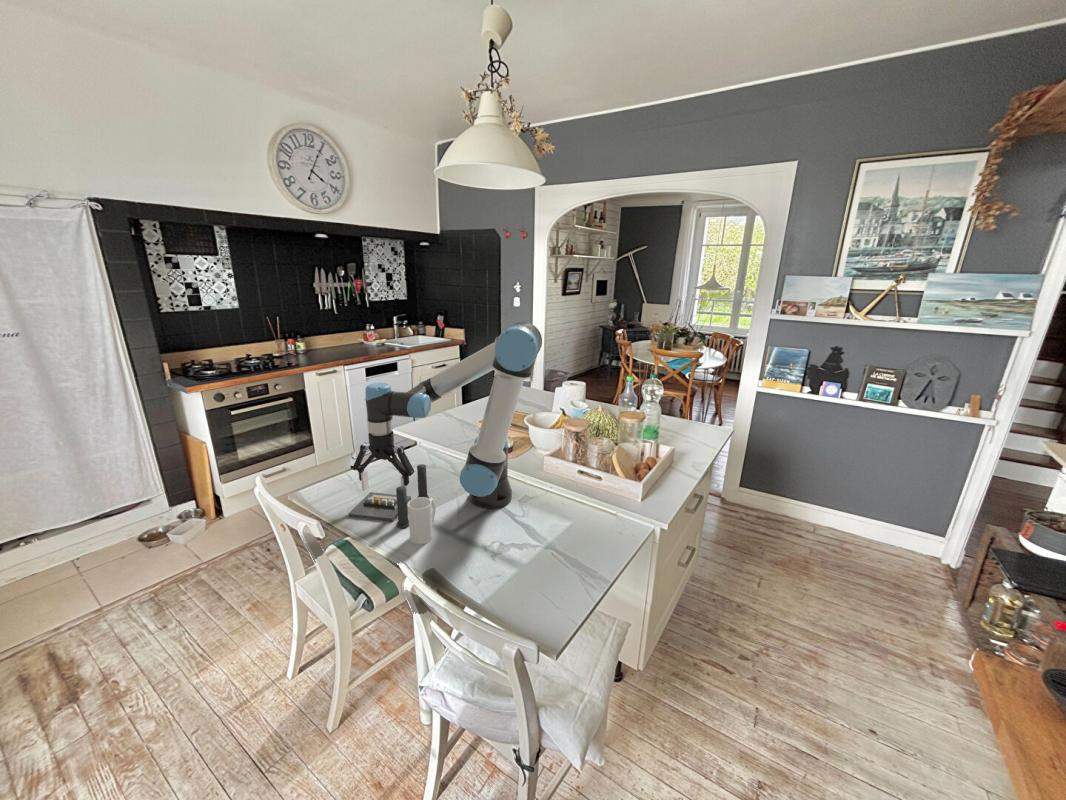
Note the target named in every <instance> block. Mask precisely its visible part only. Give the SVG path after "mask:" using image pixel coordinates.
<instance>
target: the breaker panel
mask: <svg viewBox="0 0 1066 800" xmlns="http://www.w3.org/2000/svg"><path fill="white" fill-rule="evenodd" d="M410 500H412V496H410V495H409V496H408V495H407V505H408V502H409V501H410ZM348 517H350V518H356V519H366V520H374V521H382V522H383V521H384V522H392V523H393V522H395V519H397V518H398V510H397V495H396V494H392V493H390V494H389V493H381V492H373V491H371V492H369V493H368V494H367V495H366V496H365V497H364V498H362V500H360V502H358V504H357V505H356V506H354V508H352V510H350V512H348Z"/></svg>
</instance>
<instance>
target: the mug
mask: <svg viewBox="0 0 1066 800" xmlns="http://www.w3.org/2000/svg"><path fill="white" fill-rule="evenodd" d="M407 508H408V520H409V527H408V528H409V538H410V542H411V543H413V544H414V545H424V544H427V543H428V542H430V541H431V540H432V537H433V526H432V525H433V524H434V522H435V517H436V512H437V511H436V509H437V508H436V503H435V501H434V498H432V497H431V498H429V499H428V498H425V497H419V498H417V497H415V498H411V500H410V501H409V502H408V504H407Z"/></svg>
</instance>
